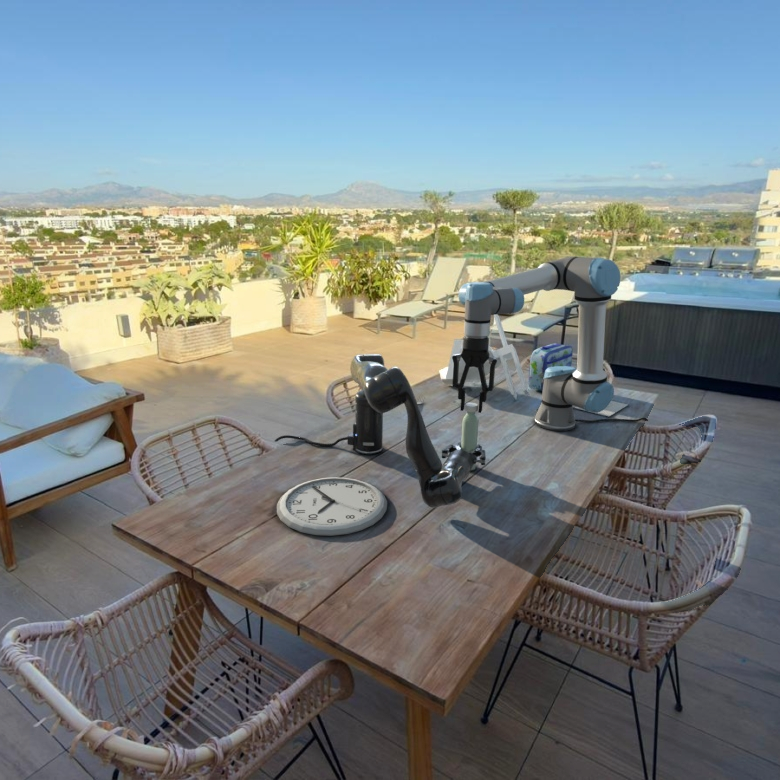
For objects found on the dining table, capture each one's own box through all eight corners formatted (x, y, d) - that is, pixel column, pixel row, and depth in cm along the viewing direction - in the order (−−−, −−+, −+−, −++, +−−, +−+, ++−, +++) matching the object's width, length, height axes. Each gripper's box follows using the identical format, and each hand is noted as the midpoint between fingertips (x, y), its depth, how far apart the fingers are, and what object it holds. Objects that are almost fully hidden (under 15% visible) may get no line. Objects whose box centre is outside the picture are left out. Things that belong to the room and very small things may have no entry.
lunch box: (544, 395, 239) (549, 351, 233) (524, 390, 247) (528, 347, 240) (571, 384, 257) (577, 343, 251) (552, 380, 264) (556, 339, 258)
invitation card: (608, 416, 214) (573, 407, 224) (608, 416, 214) (573, 408, 224) (628, 404, 229) (594, 396, 238) (628, 405, 229) (594, 397, 238)
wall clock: (392, 527, 129) (268, 531, 127) (391, 533, 130) (269, 537, 127) (383, 473, 158) (282, 475, 155) (383, 478, 158) (282, 480, 156)
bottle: (468, 462, 170) (472, 402, 164) (478, 468, 166) (483, 407, 160) (456, 466, 168) (460, 405, 161) (466, 471, 164) (471, 409, 158)
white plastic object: (461, 429, 252) (437, 405, 227) (444, 352, 274) (420, 323, 250) (535, 404, 240) (518, 377, 215) (510, 326, 262) (492, 293, 237)
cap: (462, 410, 161) (463, 404, 160) (468, 407, 164) (469, 401, 163) (473, 413, 159) (474, 407, 158) (479, 410, 162) (480, 404, 161)
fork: (408, 411, 216) (408, 407, 215) (419, 400, 230) (419, 396, 229) (414, 412, 215) (414, 407, 214) (425, 401, 229) (425, 396, 229)
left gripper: (482, 459, 149) (493, 438, 164) (434, 451, 154) (449, 431, 169) (480, 483, 151) (492, 460, 166) (433, 474, 156) (448, 452, 171)
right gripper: (508, 336, 155) (501, 409, 162) (449, 331, 160) (445, 403, 167) (505, 340, 148) (499, 417, 155) (443, 336, 153) (440, 410, 160)
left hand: (470, 445), depth 167 cm, fingers closed on bottle, 5 cm apart
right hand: (471, 410), depth 161 cm, fingers open, 5 cm apart
